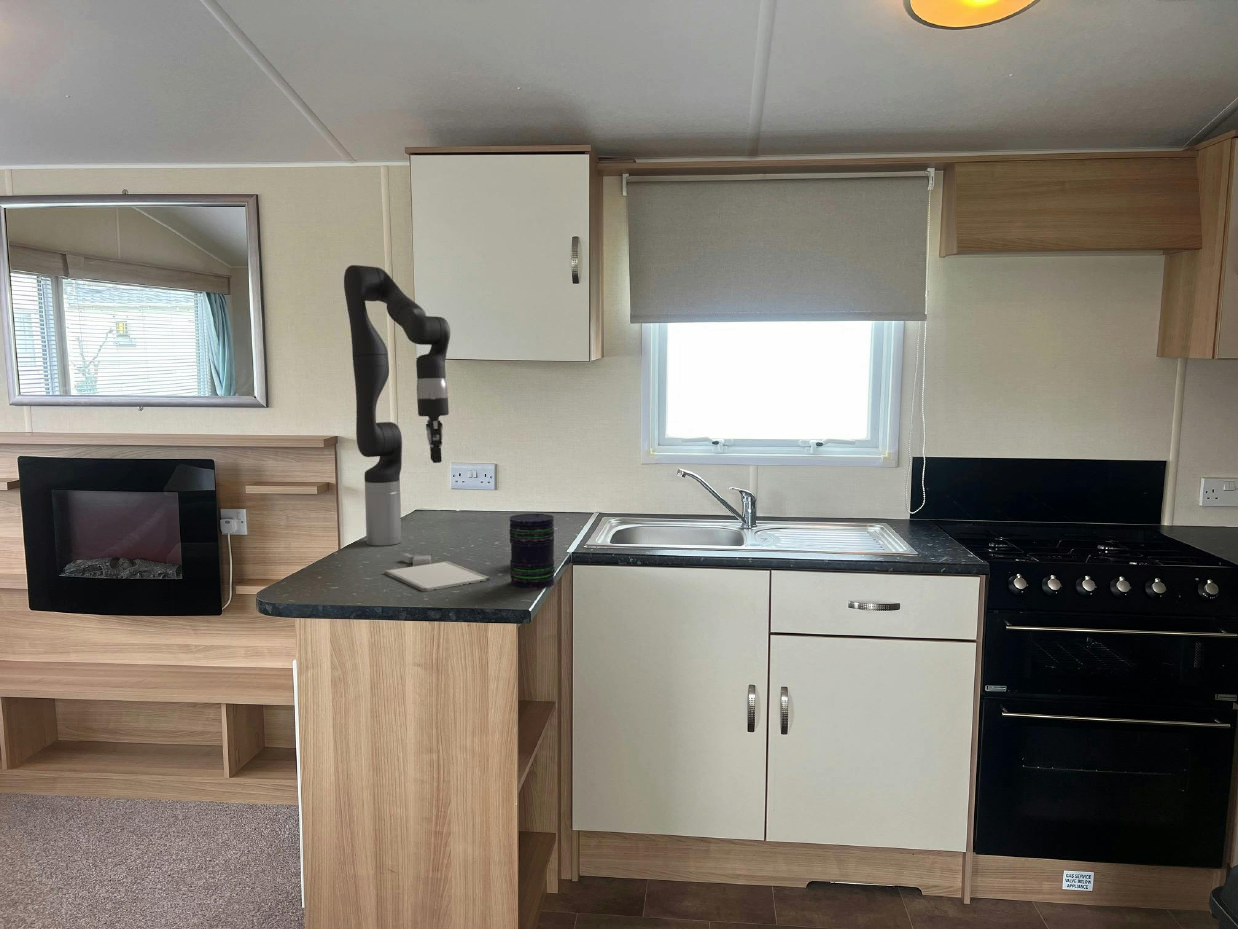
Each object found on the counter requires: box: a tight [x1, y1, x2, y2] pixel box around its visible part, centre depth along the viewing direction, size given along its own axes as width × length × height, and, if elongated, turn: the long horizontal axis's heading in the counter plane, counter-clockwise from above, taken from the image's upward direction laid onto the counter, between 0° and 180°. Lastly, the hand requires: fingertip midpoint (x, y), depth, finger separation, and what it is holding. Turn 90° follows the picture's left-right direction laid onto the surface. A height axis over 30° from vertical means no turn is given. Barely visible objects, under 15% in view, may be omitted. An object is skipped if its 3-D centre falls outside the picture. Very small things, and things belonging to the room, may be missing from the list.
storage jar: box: [508, 513, 556, 590], centre depth 184 cm, size 10×10×15 cm
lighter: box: [401, 553, 432, 567], centre depth 205 cm, size 7×2×8 cm
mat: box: [384, 560, 490, 592], centre depth 191 cm, size 21×16×1 cm
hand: (436, 461), depth 210 cm, fingers open, 8 cm apart
